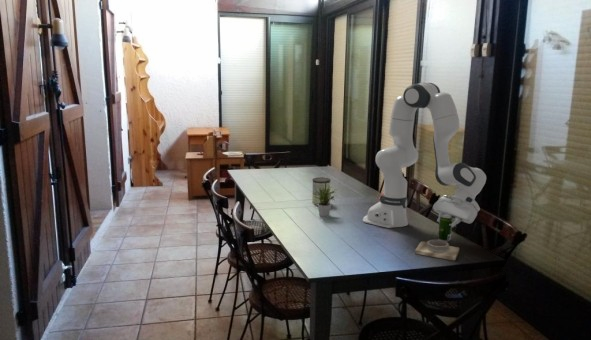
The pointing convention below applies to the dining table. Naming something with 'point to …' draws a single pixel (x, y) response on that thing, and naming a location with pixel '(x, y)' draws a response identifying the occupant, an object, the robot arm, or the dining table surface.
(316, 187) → the glass jar with lid
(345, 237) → the dining table surface
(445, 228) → the beer can
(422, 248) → the board
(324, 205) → the house plant
